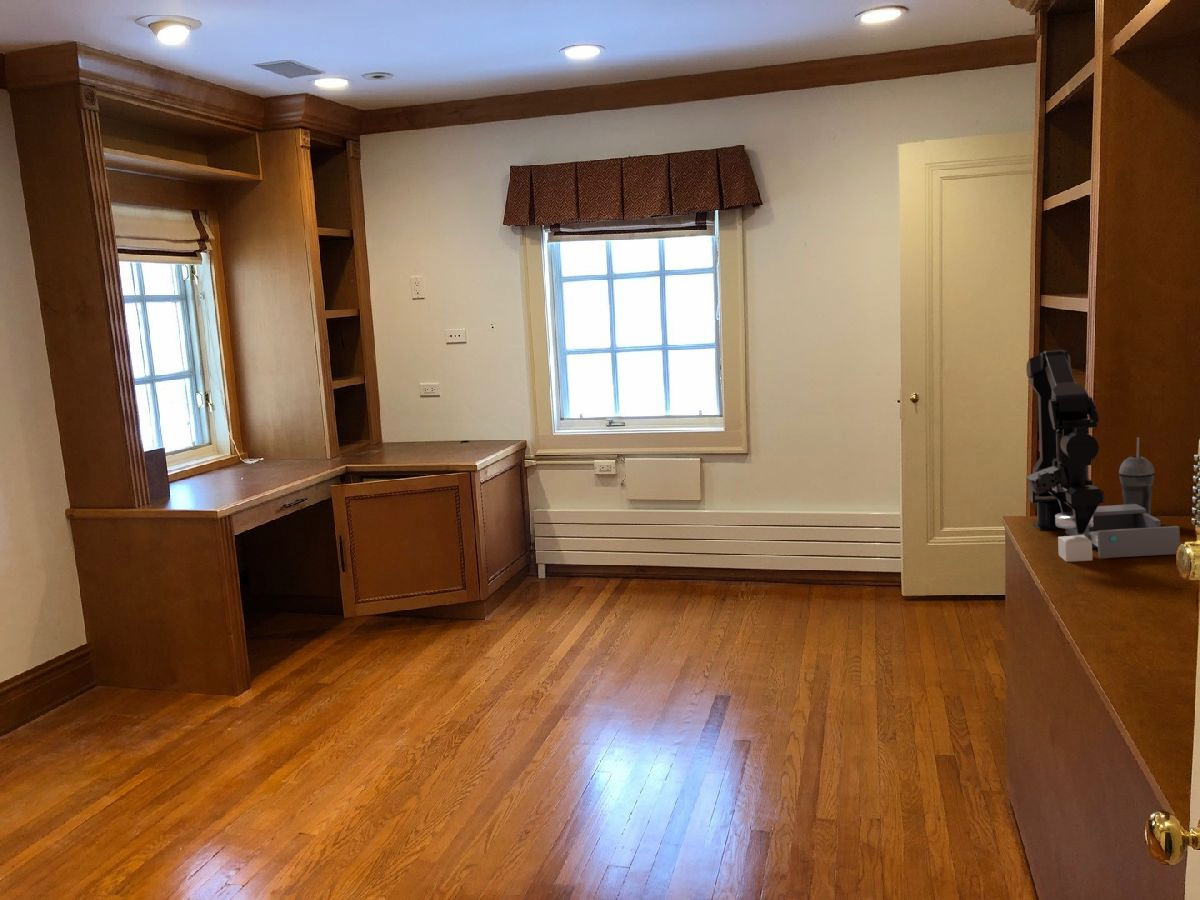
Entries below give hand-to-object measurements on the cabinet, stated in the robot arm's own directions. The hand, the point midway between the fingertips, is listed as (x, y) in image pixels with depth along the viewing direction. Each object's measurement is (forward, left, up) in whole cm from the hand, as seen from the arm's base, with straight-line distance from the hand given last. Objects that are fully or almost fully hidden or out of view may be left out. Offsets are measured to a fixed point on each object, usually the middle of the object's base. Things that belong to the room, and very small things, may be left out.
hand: (1074, 529), depth 200 cm
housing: (-14, +11, -6) cm, 19 cm away
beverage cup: (-25, +21, -6) cm, 33 cm away
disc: (0, 0, +1) cm, 1 cm away
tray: (-4, +11, -6) cm, 13 cm away
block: (0, 0, -6) cm, 6 cm away
